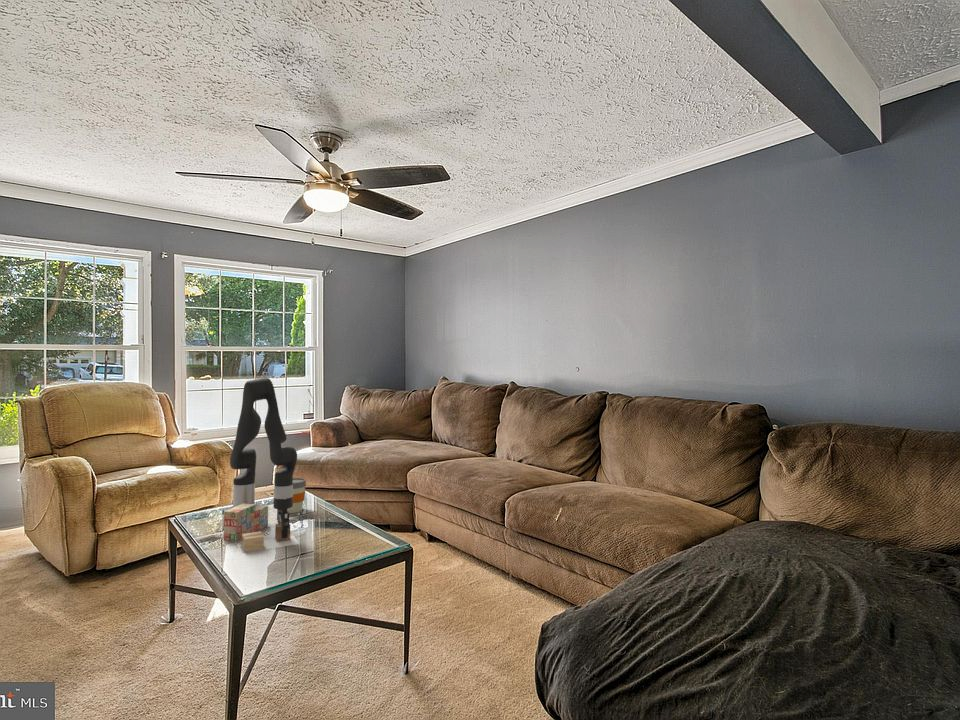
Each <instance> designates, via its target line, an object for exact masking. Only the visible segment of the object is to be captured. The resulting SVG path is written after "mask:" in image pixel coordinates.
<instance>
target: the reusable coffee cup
mask: <svg viewBox="0 0 960 720" xmlns="http://www.w3.org/2000/svg"><path fill="white" fill-rule="evenodd" d="M306 482H307V481H306V479H305V478H301V477H293V506H292V507H291V508H288V509H287V511H288V512H289V514H294V513H299V511H300V512H301V511H302V510H303V503H304V501H305V495H306V490H305V489H306V486H307V483H306Z"/></svg>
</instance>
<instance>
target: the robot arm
mask: <svg viewBox="0 0 960 720" xmlns="http://www.w3.org/2000/svg"><path fill="white" fill-rule="evenodd" d="M242 391H243V392H242V403H241V410H240V415H239V419H238V424H237V428H236V435H235V441H234V443H233V447H232V450H231V453H230V458H229V465H230V467H231V469H233V470H245V471H243V473H241V474H239V475H237V476H235V477H233V481H232V482H233V483H232V484H233V485H232V493H233V494H232V508H234V507H236V506H239V505H241V504H255V496H256V488H255V487H256V470H257V469H256V467H257V453H256V450H255V448H251V447H250V448H246V447H247V446H249V444H250V443H252V441H254V440H255V439H256V437H258V435H259V433H260V431H261V430H260V429H261V425H262V419H261V416H260V414H259V413H258V412H257V411H256V409H255V408H254V405H255V402H257V401H263V400H266V402H267V413H266V416H265V420H264V431H265V434H266V437H267V439H268V442H269V457H270V458H269V459H270V461H271V463H272V464H273V465H274V466H277V467H279V466H281V468H280V469H279V470H277V471H276V472H275V474H274V488H273V508H274V509H275V510H277V511H276V521H277V524H279V523H280V524H281V529H282V538H287V537H288V528H289V524H290V513H289V512H288V511H287V509H288V508H291V507H292V506H293V478H294V477H293V475H294V471H295V468H296V465H297V461H298V451H297V450H296V449H295V448H294V447H292V446H287V447H282V444H283V443H285V442H286V440H287V435H286V431H285V428H284V426H283V423H282V421H281V420H282V419H281V417H280V410H279V407H278V405H279V404H278V401H277V396H276V392H275V387H274V384H273V381H272V380H271V379H270V378H268V377H262V378H261V377H259V378H255V379H249V380H247V381H246V382H245V383H244V386H243V390H242ZM284 524H286V526H284Z"/></svg>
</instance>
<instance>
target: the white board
mask: <svg viewBox="0 0 960 720" xmlns="http://www.w3.org/2000/svg"><path fill="white" fill-rule="evenodd" d="M295 545H300V542H299V541H298V539H297V538H296V537H295V535H290V540H287V541H280V542H277V541H276V539H275V537H273V538H267V539H264V549H261V550H255V551H248V552H244V551H243V548H242V542H241V543H236V546H237V548H238V552H239V554H245V553H252V552H259V551H265V550H269V549H270V550H271V549H275V548H282V547H289V546H295Z"/></svg>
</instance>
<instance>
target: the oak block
mask: <svg viewBox="0 0 960 720" xmlns="http://www.w3.org/2000/svg"><path fill="white" fill-rule="evenodd" d="M241 539H242V540H241V543H242V548H243V551H244V552H247V553H249V552H248V551H253V552H256V551H255V550H259V551H262V550H261V549H264V540H265V535H264V533H263V532H262V530H261V531H260V530H259V531H255V532H253V533H246V534H242V538H241Z"/></svg>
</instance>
